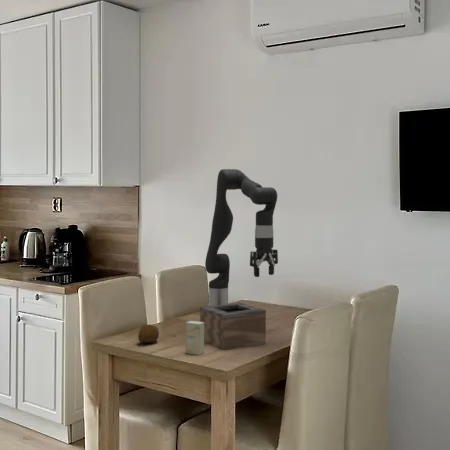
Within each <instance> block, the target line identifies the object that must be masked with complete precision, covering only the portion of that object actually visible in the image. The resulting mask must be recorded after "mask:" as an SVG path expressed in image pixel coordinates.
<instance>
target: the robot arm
mask: <svg viewBox="0 0 450 450" xmlns="http://www.w3.org/2000/svg"><path fill="white" fill-rule="evenodd" d="M227 190H229V191H231V190H232V191H234V190H240V191H241V193H242V194H243V195H244V196H246V197H247V198H249V199H250V201H251V202H252V203H253V204H255V205H259V206H260V205H262V206H263V205H265V207H264V208H263V209H261V210H257V211H256V213H255V230H254V247H255V248H256V250H255V251H254V250H253V251H250V253H249V266H250V267H253V277H255V278H260V266H261V264H263V262H267V264H268V275H269V276H273V275H274V274H275V266H276V265H277V264H279V263H278V262H279V255H278V254H279V252H278V249H275V248H274V213H275V208H276V205H277V202H278V201H277V200H278V192H277V190H276V188H274V187H267V186H266V187H265V186H264V187H263V186H262V184H259V182H255V181H254V180H252V179H250V178H249V177H248V176H247V175H246V174H245V173H244V172H243V171H241V170H239V169H235V168H232V169H231V168H224V169H223V168H222V169H220V170H219V172H218V174H217V180H216V193H215V194H216V196H215V197H216V198H215V205H214V210H213V211H214V212H213V215H212V216H213V217H212V223H211V230H210V238H209V243H208V244H209V245H208V248H207V252H206V256H205V261H204V262H205V263H204V265H205V266H204V267H205V271H206V272H207V273H208V274H218V275H217V277H215V278H214V279H211V280H210V281H209V282H208V304H207V306H214V305H223V304H229V283H230V267H231V266H230V265H231V264H230V263H231V262H230V257H229V255H228V254H227V253H218V252H219V249H220V248H221V246H222V244H223V243H224V242H225V240H226V239H227V238H228V237H229V235H230V234H231V231H232V229H233V221H234V215H233V212H232V209H231V208H230V206H229V204H228V202H227ZM273 248H274V249H273Z"/></svg>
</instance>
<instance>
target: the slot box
mask: <svg viewBox="0 0 450 450" xmlns="http://www.w3.org/2000/svg"><path fill="white" fill-rule="evenodd" d="M266 312H267V310H266V309H263V308H259V307H256V306H253V305H250V304H245V303H242V302H235V303H228V304H223V305H214V306H208V305H207V306H205V305H204V306H200V307H199V322H204V343H206V344H210V345H211V346H214V347H215V348H219V349H221V350H223V351H227V350H232V349H233V350H235V349H239V348H245V347H246V348H247V347H252V346H261V345H265V344H266V341H267V340H266V337H267V336H266V335H267V334H266V332H267V329H266V328H267V327H266V325H267V322H266V321H267V319H266V317H267V314H266Z"/></svg>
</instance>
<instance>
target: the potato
mask: <svg viewBox="0 0 450 450" xmlns="http://www.w3.org/2000/svg"><path fill="white" fill-rule="evenodd" d="M159 332H160V331H159V328H158V327H157V326H156V325H153V324H144V325H143V326H141V328H140V329H139V331H138V335H137V338H138V341H139V342H140V343H142V344H150V343H154V342H156V341H157V340H158V339H159V337H160V333H159Z"/></svg>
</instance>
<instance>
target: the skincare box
mask: <svg viewBox="0 0 450 450" xmlns="http://www.w3.org/2000/svg"><path fill="white" fill-rule="evenodd" d="M185 353H186V354H190V355H191V354H192V355H197V356H199V355H201V354H204V353H205V341H204V322H200V321H197V320H189V321H186V323H185Z"/></svg>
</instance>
